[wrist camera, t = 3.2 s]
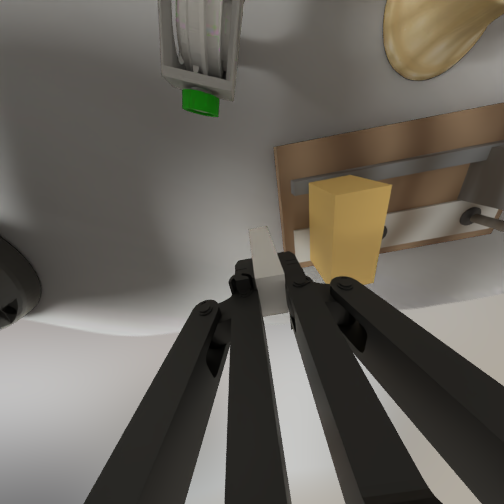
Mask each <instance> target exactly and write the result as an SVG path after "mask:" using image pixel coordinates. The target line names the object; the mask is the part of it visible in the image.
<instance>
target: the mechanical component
mask: <svg viewBox="0 0 504 504" xmlns="http://www.w3.org/2000/svg"><path fill="white" fill-rule="evenodd" d="M244 1H245V0H176V27H177V37H178V44H179V57H178V56H177V53H176V48H175V42H174V35H173V26H172V10H171V0H158V12H159V34H160V55H161V75H162V76H163V77H164V78H165V79H166V80H167V81H168V82H169V83H170V84H171V85H172V86H173V87H175V88H179V89H181V90H182V108H183V109H184V110H187V111H189V112H193V113H196V114H200V115H205V116H211V117H218V113H219V98H221V99H225V100H229V101H233V100H234V93H235V84H236V74H237V63H238V53H239V42H240V32H241V22H242V16H243V4H244Z"/></svg>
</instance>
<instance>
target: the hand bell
mask: <svg viewBox="0 0 504 504" xmlns="http://www.w3.org/2000/svg"><path fill="white" fill-rule="evenodd" d="M503 14H504V0H387V3H386V6H385V12H384V20H383V38H384V47H385V51H386V55H387V58H388V60H389V62H390V64H391V65H392V67H393V68H394V69H395V71H396V72H398V73H399V74H400V75H402V76H403V77H405V78H408V79H411V80H426V79H430V78H433V77H435V76H437V75H440V74H442V73H443V72H445V71H446V70H448V69H449V68H451V67H452V66H453V65H455V64H456V63H457V62H458V61H459V60H460V59H461V58H462V57H463V56H464V55H465V54H466V53H467V52H468V51H469V50H470V49H471V48H472V47H473V46H474V44H475V43H476V42H477V41H478V39H479V38H480V37H481V35H482V34H483V32H484V31H485V29H486V28H487V26H488V25H489V24H490V23H491V22H493V21H494V20H495V19H497V18H498V17H500V16H501V15H503Z"/></svg>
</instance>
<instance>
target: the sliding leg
mask: <svg viewBox="0 0 504 504" xmlns="http://www.w3.org/2000/svg"><path fill="white" fill-rule="evenodd" d="M391 189H392V185H391V184H386V183H382V182H378V181H374V180H370V179H365V178H361V177H357V176H353V175H347V176H341V177H336V178H331V179H326V180H320V181H315V182H310V183H309V227H310V260H311V262H312V263H313V265H314V266H315V268H316V269H317V271H318V272H319V274H320V275H321V277H322V278H323V280H324V281H325V283H326V284H330V282H331V280H332V279H333V278H335V277H339V276H347V277H351V278H353V279H355V280H357V281H358V282H360V283H361V284H363V285H364V284H370V283H374V277H375V272H376V267H377V262H378V257H379V251H380V246H381V241H382V236H383V230H384V225H385V220H386V215H387V210H388V204H389V199H390V194H391Z"/></svg>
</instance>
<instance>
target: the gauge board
mask: <svg viewBox="0 0 504 504" xmlns="http://www.w3.org/2000/svg"><path fill="white" fill-rule="evenodd" d="M274 157H275V167H276V177H277V187H278V197H279V208H280V218H281V228H282V238H283V248H284V252H287V251H290V252H292V253H293V254H295V256H296V258H297V260H298V262H299V264H300V266H301V268H303V267H309V266H314V265H313V263H312V262H311V260H310V227H309V183H310V182H315V181H320V180H326V179H331V178H336V177H341V176H347V175H353V176H357V177H361V178H365V179H370V180H374V181H378V182H382V183H386V184H391V185H392V189H391V194H390V199H389V204H388V210H387V215H386V220H385V225H384V230H383V236H382V241H381V246H380V251H379V254H381V253H386V252H392V251H398V250H403V249H409V248H414V247H420V246H425V245H431V244H436V243H442V242H447V241H453V240H458V239H464V238H469V237H475V236H481V235H486V234H491V233H492V231H493V229H496V230H499V231H502V232H504V221H503V220H499V217H500V215H501V213H502V211H503V210H504V103H498V104H493V105H488V106H483V107H478V108H473V109H467V110H462V111H457V112H452V113H447V114H442V115H436V116H431V117H426V118H421V119H416V120H411V121H406V122H400V123H395V124H390V125H385V126H380V127H375V128H369V129H364V130H359V131H354V132H349V133H344V134H338V135H333V136H328V137H323V138H318V139H313V140H307V141H302V142H297V143H292V144H287V145H282V146H277V147H274Z"/></svg>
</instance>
